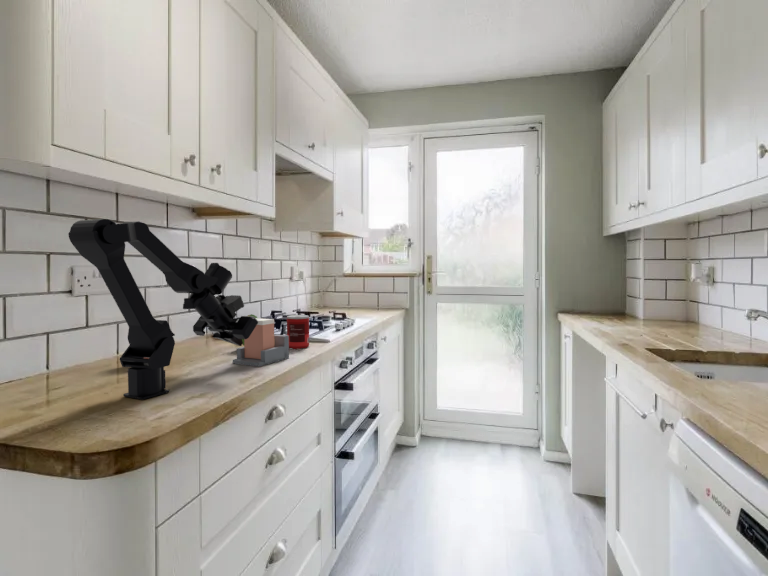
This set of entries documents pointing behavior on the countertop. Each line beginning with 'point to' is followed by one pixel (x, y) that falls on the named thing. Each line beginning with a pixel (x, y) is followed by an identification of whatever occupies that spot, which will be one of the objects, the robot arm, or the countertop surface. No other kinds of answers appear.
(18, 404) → the countertop surface
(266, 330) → the pink white rectangular block
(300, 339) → the canned food
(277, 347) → the housing
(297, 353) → the countertop surface
